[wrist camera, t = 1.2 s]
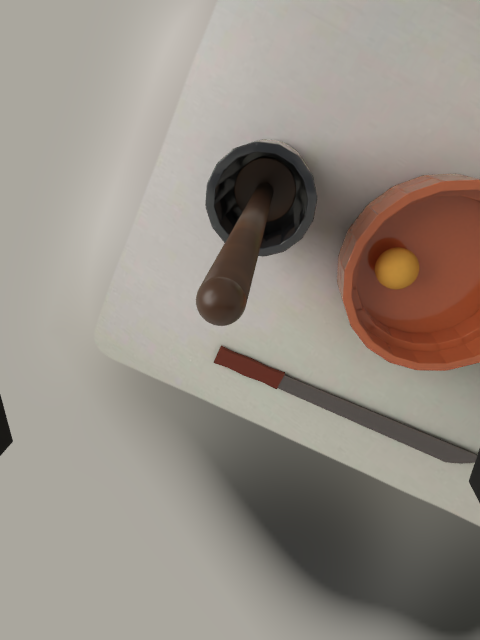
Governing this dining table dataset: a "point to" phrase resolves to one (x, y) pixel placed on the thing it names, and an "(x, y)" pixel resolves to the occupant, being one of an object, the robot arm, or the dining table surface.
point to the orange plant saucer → (433, 278)
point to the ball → (397, 268)
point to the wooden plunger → (245, 238)
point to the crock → (228, 212)
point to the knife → (345, 408)
